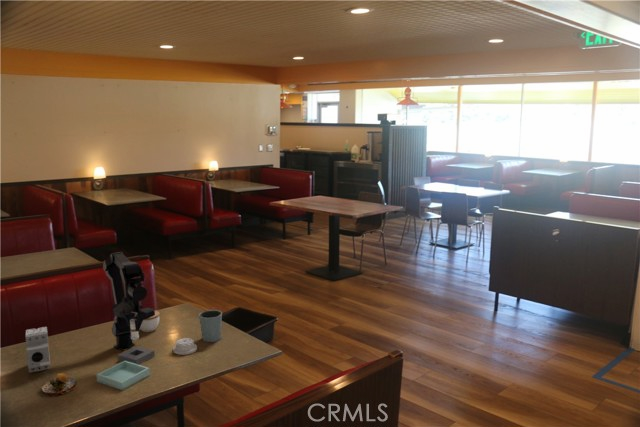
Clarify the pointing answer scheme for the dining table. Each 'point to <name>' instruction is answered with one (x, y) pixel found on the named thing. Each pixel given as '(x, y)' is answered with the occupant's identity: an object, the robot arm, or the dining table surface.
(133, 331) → the cylinder
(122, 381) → the parts tray
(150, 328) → the lidded jar
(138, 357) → the socket block
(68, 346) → the dining table surface
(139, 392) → the dining table surface
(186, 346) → the mechanical component
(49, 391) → the plate of food
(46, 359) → the circuit breaker
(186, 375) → the dining table surface
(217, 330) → the blue-grey cup
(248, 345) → the dining table surface
